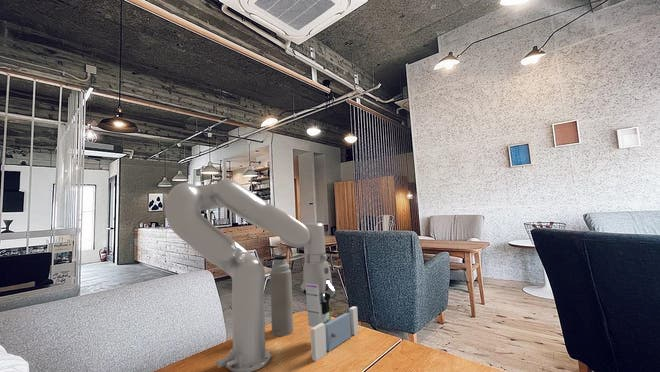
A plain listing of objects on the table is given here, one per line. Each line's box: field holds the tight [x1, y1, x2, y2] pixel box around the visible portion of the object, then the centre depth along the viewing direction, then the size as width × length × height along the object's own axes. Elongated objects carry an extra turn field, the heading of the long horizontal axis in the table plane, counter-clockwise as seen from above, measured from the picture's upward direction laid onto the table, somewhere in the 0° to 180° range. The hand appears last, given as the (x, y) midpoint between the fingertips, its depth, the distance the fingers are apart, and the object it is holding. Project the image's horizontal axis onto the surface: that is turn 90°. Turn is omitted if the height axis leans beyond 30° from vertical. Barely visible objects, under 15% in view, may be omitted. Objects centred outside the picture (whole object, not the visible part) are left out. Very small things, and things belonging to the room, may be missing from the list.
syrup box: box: [305, 283, 332, 328], centre depth 95 cm, size 6×6×14 cm
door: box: [325, 309, 353, 352], centre depth 92 cm, size 13×2×9 cm, turn 141°
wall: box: [310, 306, 360, 362], centre depth 91 cm, size 23×2×9 cm, turn 141°
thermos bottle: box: [269, 255, 294, 337], centre depth 105 cm, size 8×8×28 cm
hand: (318, 310), depth 94 cm, fingers closed on syrup box, 5 cm apart
